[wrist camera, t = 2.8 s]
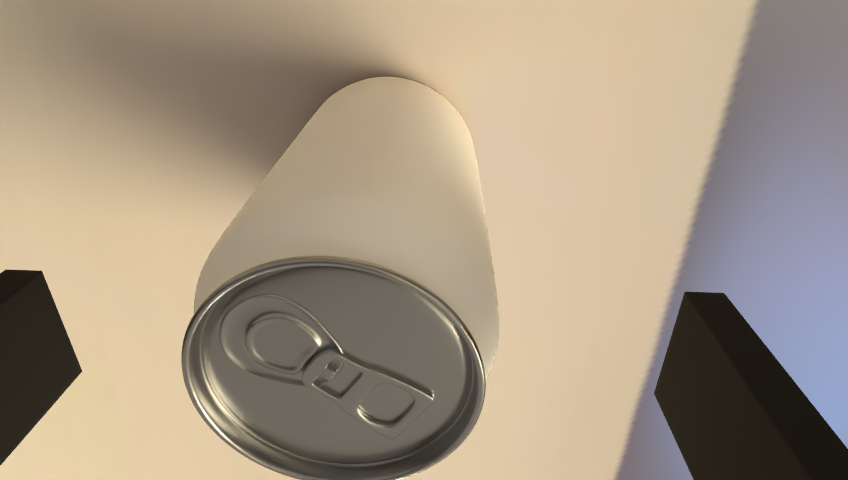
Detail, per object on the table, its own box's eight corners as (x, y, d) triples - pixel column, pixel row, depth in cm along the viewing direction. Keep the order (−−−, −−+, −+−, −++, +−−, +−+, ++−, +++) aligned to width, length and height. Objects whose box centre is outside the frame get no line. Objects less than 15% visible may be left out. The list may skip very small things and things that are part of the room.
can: (366, 34, 18) (258, 155, 8) (510, 143, 20) (586, 366, 9) (276, 175, 21) (104, 409, 10) (410, 260, 22) (380, 537, 12)
